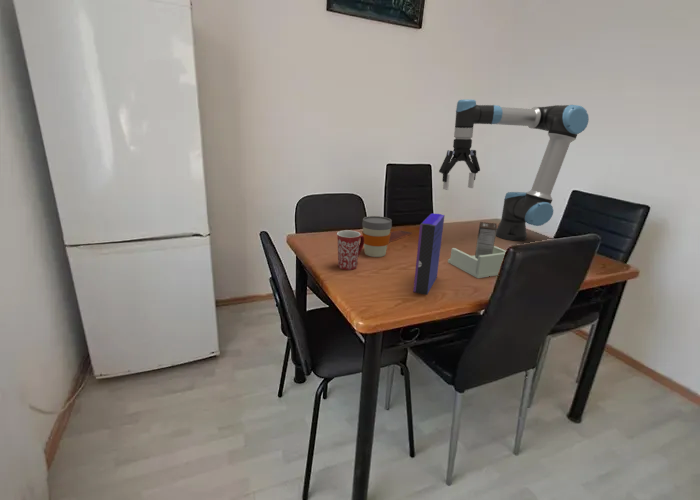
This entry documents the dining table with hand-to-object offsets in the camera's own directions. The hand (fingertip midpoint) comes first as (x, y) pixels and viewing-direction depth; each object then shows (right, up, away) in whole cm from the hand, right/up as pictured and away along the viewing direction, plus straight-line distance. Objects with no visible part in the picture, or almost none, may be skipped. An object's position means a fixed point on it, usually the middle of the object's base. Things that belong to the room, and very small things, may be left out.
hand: (458, 188), depth 175 cm
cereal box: (-21, -39, -33) cm, 55 cm away
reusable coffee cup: (-37, -29, -4) cm, 47 cm away
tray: (+6, -34, -14) cm, 37 cm away
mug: (-47, -33, -19) cm, 61 cm away
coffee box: (+6, -33, -14) cm, 36 cm away
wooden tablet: (-27, -21, +22) cm, 40 cm away
